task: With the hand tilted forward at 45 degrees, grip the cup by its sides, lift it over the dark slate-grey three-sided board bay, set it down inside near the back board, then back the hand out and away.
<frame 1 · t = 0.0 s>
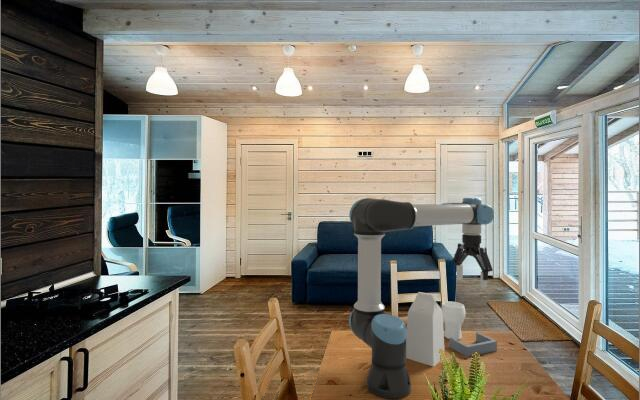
hand: (471, 283, 155), 28 cm above the table, tool pointing down, fingers open, 13 cm apart
milk: (424, 357, 148), on the table
board bay: (474, 349, 154), on the table
cup: (452, 337, 168), on the table
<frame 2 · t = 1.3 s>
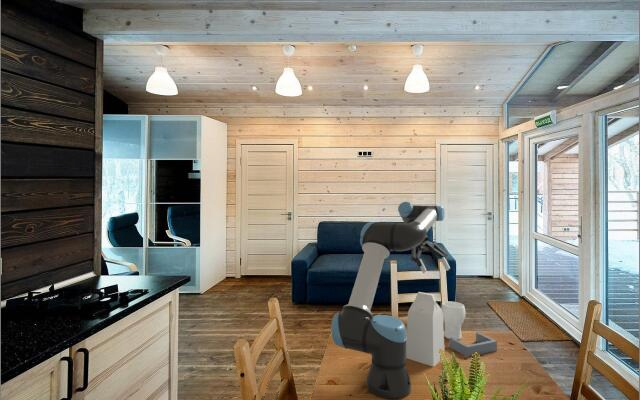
hand: (436, 270, 176), 29 cm above the table, tool tilted 45°, fingers open, 13 cm apart
nothing on the table moved.
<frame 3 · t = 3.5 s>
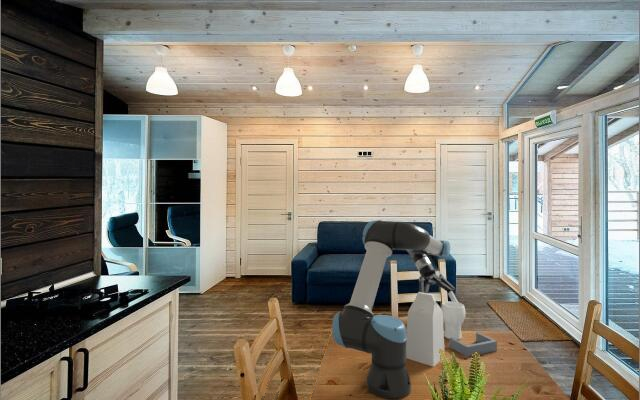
hand: (445, 305, 174), 12 cm above the table, tool tilted 45°, fingers open, 13 cm apart
nothing on the table moved.
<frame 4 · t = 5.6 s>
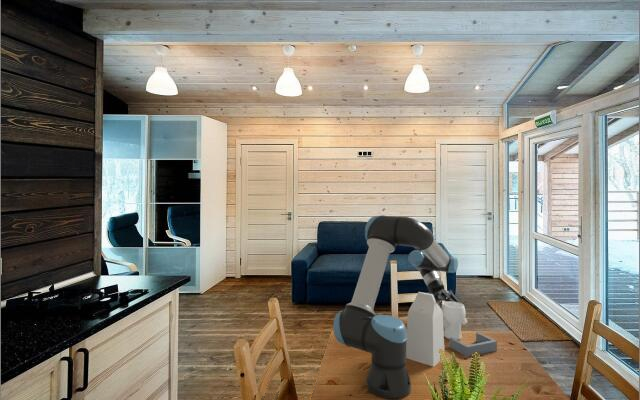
hand: (455, 325, 166), 6 cm above the table, tool tilted 45°, fingers closed on cup, 11 cm apart
cup: (452, 337, 168), on the table, touching gripper
everything else where it was.
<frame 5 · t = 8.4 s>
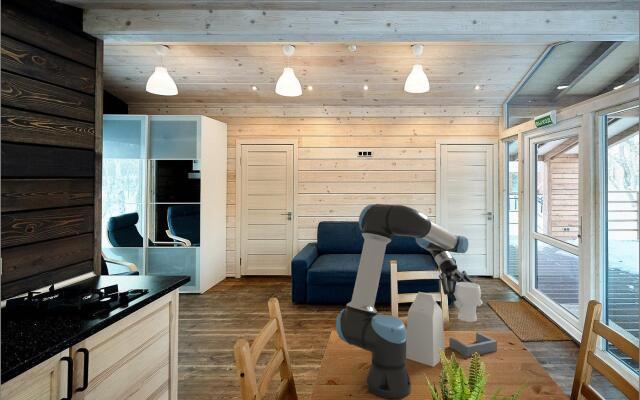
hand: (470, 306, 156), 18 cm above the table, tool tilted 45°, fingers closed on cup, 10 cm apart
cup: (467, 319, 158), point 12 cm above the table, touching gripper
everything else where it was.
when the fingers open (8 cm above the table, at t = 11.4 s): cup drops 1 cm, on the table.
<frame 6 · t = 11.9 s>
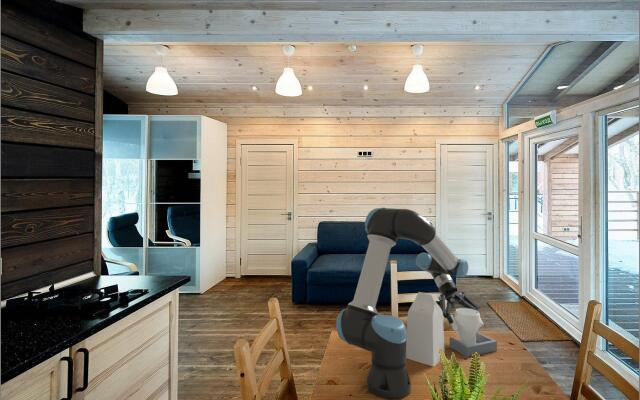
hand: (469, 328, 157), 8 cm above the table, tool tilted 45°, fingers open, 13 cm apart
cup: (467, 346, 158), on the table
everything else where it was.
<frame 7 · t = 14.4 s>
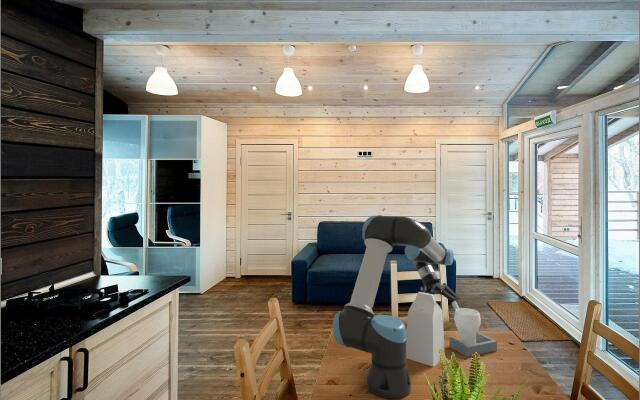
hand: (447, 316, 169), 9 cm above the table, tool tilted 45°, fingers open, 13 cm apart
nothing on the table moved.
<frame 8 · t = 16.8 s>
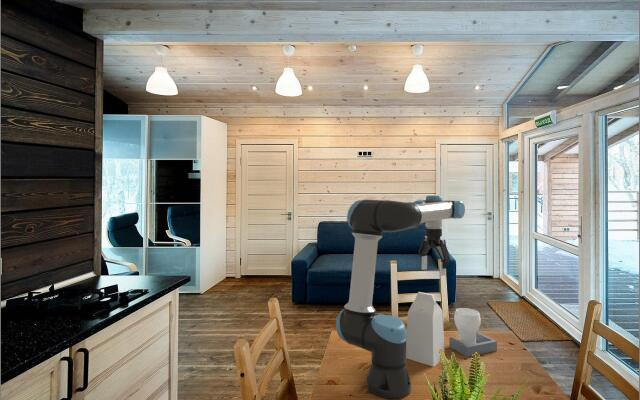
hand: (433, 272, 173), 29 cm above the table, tool pointing down, fingers open, 13 cm apart
nothing on the table moved.
at the end: cup inside the target area (0.6 cm from its centre), on the table; cup tilted 0°; the gripper is holding nothing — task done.
